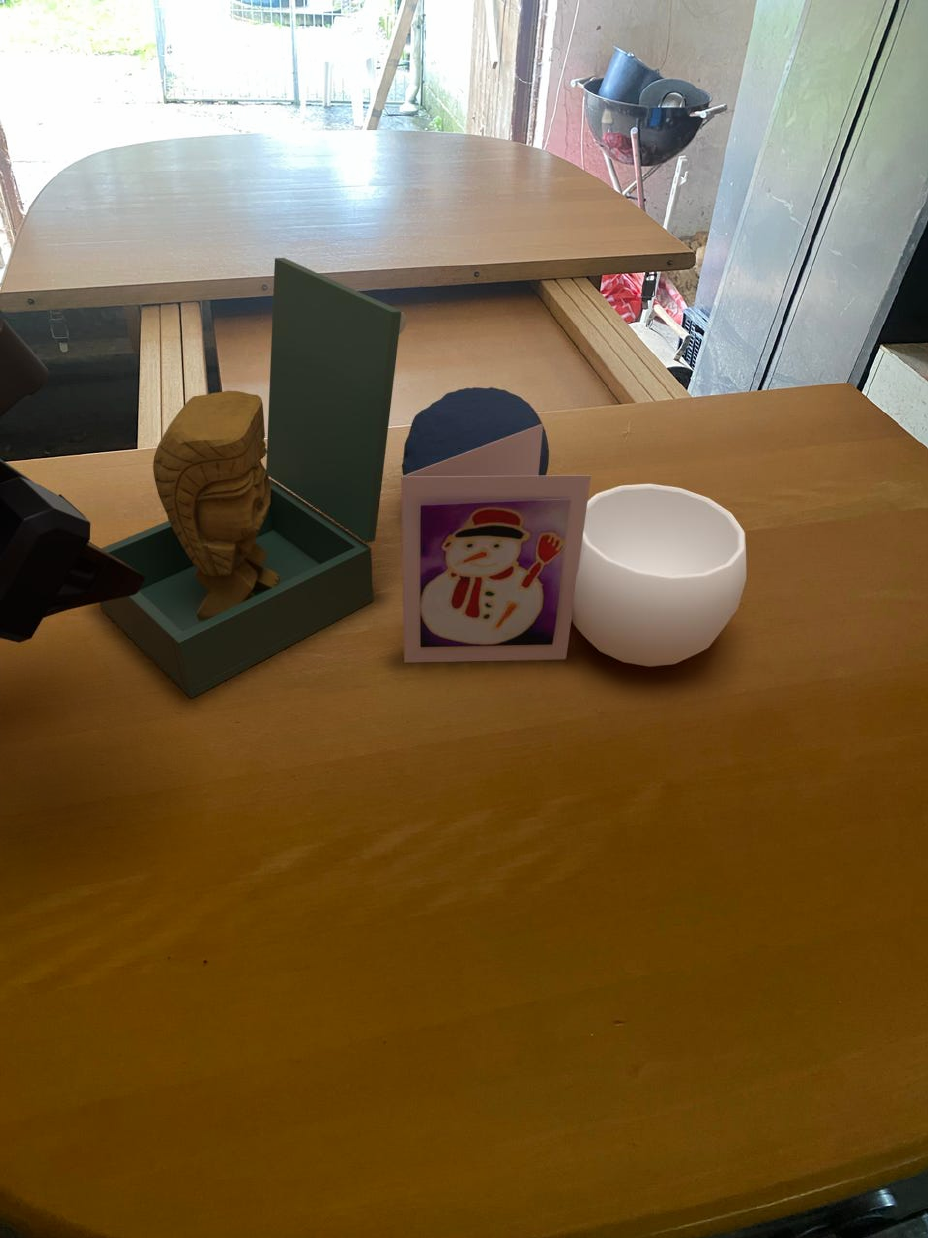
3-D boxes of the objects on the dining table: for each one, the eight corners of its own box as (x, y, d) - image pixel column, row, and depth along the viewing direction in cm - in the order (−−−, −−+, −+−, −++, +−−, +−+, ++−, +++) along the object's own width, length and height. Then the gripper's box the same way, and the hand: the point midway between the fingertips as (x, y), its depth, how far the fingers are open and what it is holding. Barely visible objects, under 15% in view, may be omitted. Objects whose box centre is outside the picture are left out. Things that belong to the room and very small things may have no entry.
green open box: (191, 699, 61) (178, 642, 58) (100, 609, 68) (84, 554, 65) (373, 601, 69) (371, 547, 66) (276, 530, 76) (270, 478, 73)
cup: (550, 582, 72) (562, 475, 66) (708, 589, 72) (735, 482, 66) (558, 693, 62) (572, 580, 56) (739, 701, 62) (774, 588, 56)
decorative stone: (435, 468, 85) (436, 366, 78) (559, 496, 81) (571, 392, 75) (381, 534, 76) (377, 426, 70) (517, 569, 73) (526, 458, 67)
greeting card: (404, 671, 64) (401, 484, 54) (403, 603, 69) (400, 423, 60) (567, 667, 64) (593, 483, 55) (553, 601, 70) (574, 423, 60)
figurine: (266, 630, 65) (239, 442, 56) (175, 624, 65) (133, 436, 56) (288, 572, 71) (266, 391, 61) (203, 566, 71) (169, 385, 61)
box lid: (392, 311, 57) (443, 307, 60) (274, 257, 64) (325, 255, 67) (366, 543, 66) (412, 529, 68) (265, 474, 72) (311, 464, 75)
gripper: (-28, 330, 32) (271, 490, 45) (-190, 205, 42) (92, 365, 55) (-181, 600, 33) (156, 680, 46) (-304, 413, 43) (0, 523, 56)
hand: (98, 546), depth 51 cm, fingers open, 9 cm apart
